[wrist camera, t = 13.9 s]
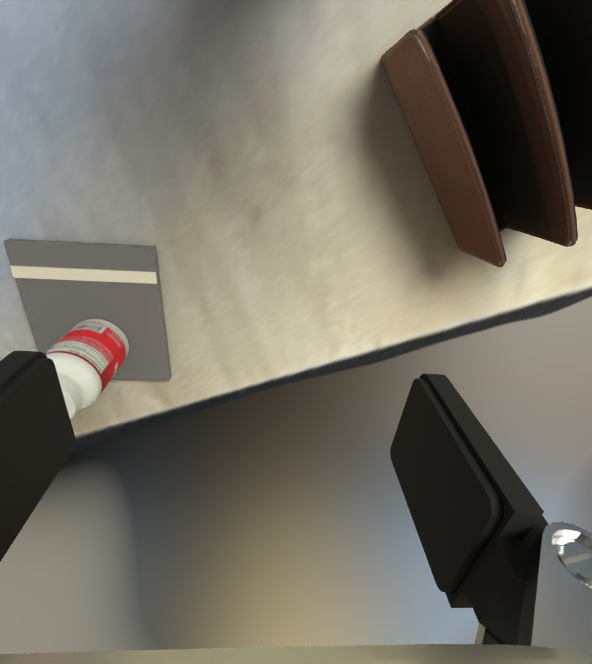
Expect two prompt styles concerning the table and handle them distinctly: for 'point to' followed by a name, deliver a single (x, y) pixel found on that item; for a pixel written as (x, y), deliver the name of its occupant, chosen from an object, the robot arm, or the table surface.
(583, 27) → the letter holder
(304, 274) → the table surface
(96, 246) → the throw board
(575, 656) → the robot arm
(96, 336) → the pill bottle
